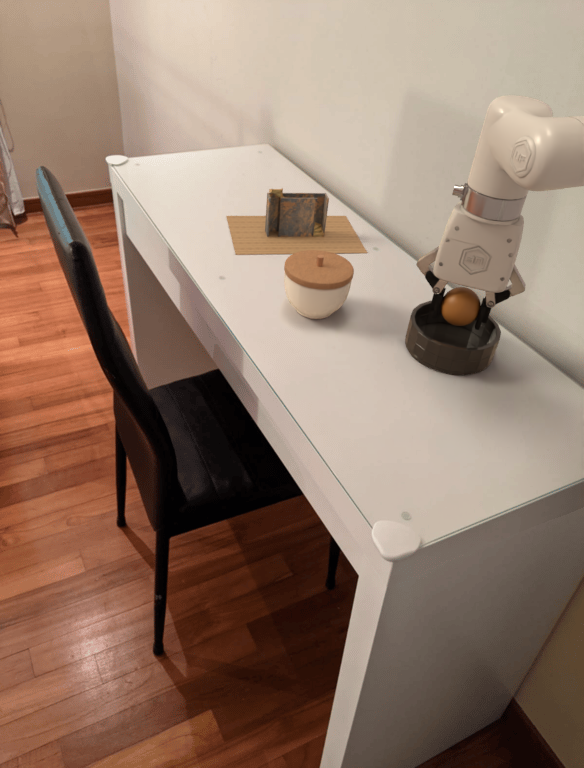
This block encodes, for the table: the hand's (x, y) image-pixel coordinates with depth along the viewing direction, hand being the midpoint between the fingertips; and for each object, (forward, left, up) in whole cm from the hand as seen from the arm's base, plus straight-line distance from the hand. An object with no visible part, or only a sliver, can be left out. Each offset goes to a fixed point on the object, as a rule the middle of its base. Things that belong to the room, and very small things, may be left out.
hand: (456, 318), depth 90 cm
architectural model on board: (+34, -25, -5) cm, 42 cm away
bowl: (0, 0, -5) cm, 5 cm away
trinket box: (+22, -1, -5) cm, 23 cm away
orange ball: (0, 0, -1) cm, 1 cm away
